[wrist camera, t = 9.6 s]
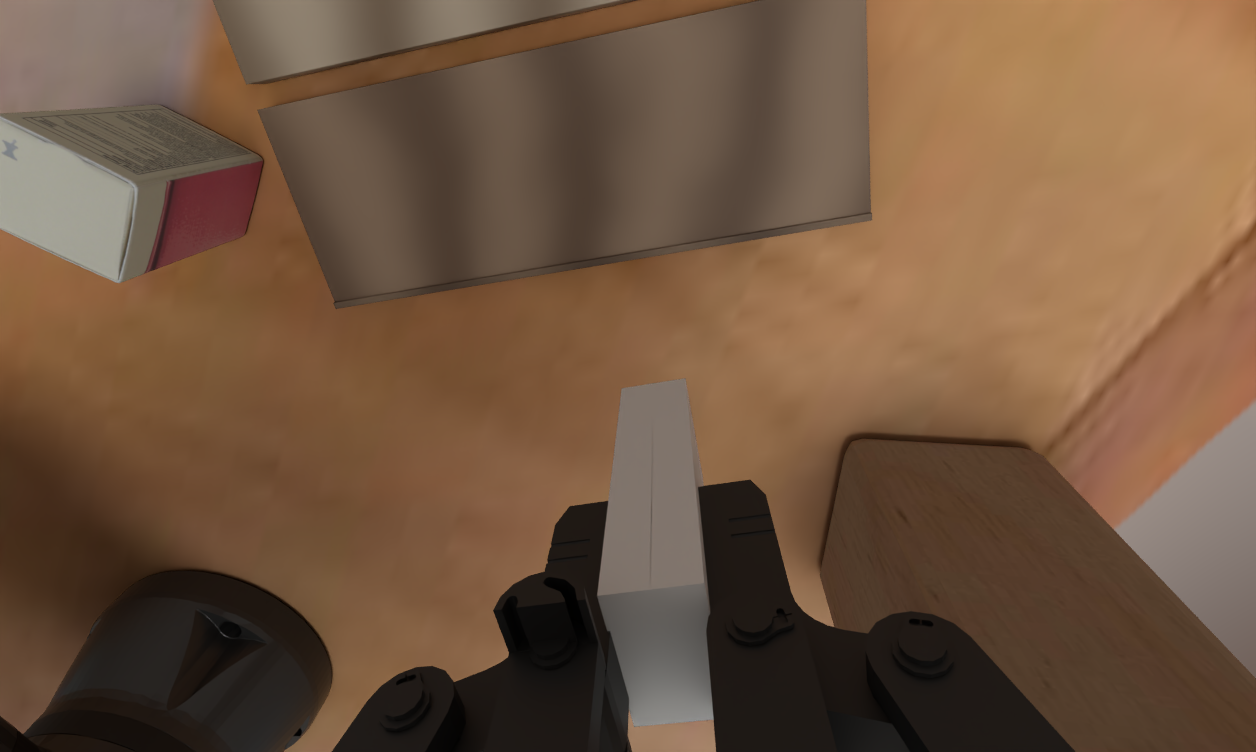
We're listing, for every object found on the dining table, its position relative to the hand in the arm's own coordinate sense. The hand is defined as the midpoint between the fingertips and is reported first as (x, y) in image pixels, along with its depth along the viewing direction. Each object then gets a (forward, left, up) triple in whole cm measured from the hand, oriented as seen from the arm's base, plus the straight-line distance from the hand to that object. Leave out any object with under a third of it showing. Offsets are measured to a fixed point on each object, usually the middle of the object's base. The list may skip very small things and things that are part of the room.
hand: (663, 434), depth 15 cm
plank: (-4, +5, -16) cm, 17 cm away
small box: (-21, +7, -16) cm, 28 cm away
